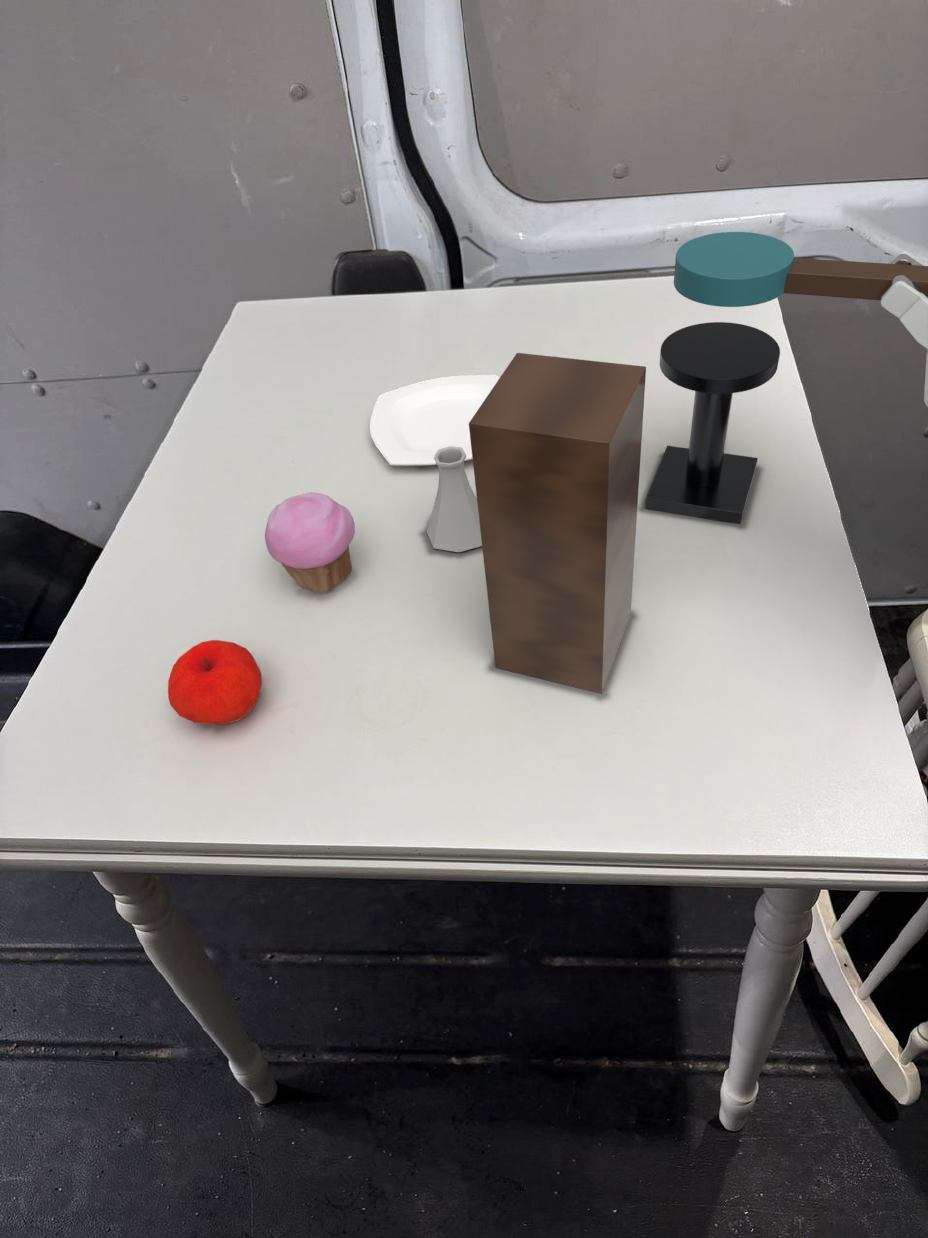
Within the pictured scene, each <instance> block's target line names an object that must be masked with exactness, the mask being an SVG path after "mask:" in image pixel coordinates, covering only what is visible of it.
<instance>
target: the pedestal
mask: <svg viewBox="0 0 928 1238" xmlns="http://www.w3.org/2000/svg"><path fill="white" fill-rule="evenodd" d="M646 376H647V366H646V365H645V366H644V365H635V364H634V365H633V364H625V363H616V362H608V361H598V360H597V361H596V360H589V359H588V360H587V359H579V358H571V357H569V358H568V357H561V356H560V357H559V356H550V355H543V354H533V353H524V352H523V353H522V352H516V353H515V355H514V356H513V358H512V359H511V361H510V362H509V363H508V365H507V367H506V368H505V369H504V371H503V372H502V374H501V375H500V376H499V377H500V378H499V380H498V381H497V383H496V384H495V386H494V387H493V389H492V390H491V392H490V393H489V394H488V396H487V397H486V399H485V400H484V402H483V403H482V405H481V406H480V408H479V409H478V411H477V412H476V413H475V415H474V416H473V418H472V419H471V421H470V422H469V431H470V440H471V449H472V458H473V459H472V466H473V475H474V484H475V486H474V487H475V493H476V495H475V496H476V498H477V504H478V513H479V522H480V531H481V540H482V546H481V549H482V557H483V567H484V575H485V585H486V593H487V603H488V611H489V621H490V629H491V631H490V632H491V638H492V639H491V640H492V648H493V649H492V650H493V657H494V658H493V659H494V667H495V669H498V670H503V671H506V672H511V673H515V674H518V675H519V674H520V675H522V676H528V677H532V678H536V679H539V680H545V681H548V682H553V683H557V684H560V685H565V686H569V687H572V688H578V689H580V690H586V691H590V692H594V693H598V694H603V692H604V689H605V686H606V684H607V682H608V678H609V675H610V674H611V670H612V668H613V664H614V662H615V660H616V656H617V653H618V651H619V648H620V646H621V643H622V640H623V637H624V635H625V633H626V630H627V626H628V624H629V621H630V618H631V616H632V615H631V614H632V598H633V586H634V585H633V583H634V568H635V567H634V566H635V551H636V538H637V537H636V535H637V522H638V521H637V520H638V519H637V518H638V503H639V489H640V472H641V457H642V456H641V455H642V441H643V439H642V437H643V426H644V425H643V424H644V407H645V393H646V379H647V378H646Z"/></svg>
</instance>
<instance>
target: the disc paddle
mask: <svg viewBox="0 0 928 1238" xmlns="http://www.w3.org/2000/svg"><path fill="white" fill-rule="evenodd" d="M673 273H674V275H673V287H674V288H675V291H676V292H677V293H678V294H680V295H681V296H682V297H684V298H686V299H688V300H690V301H692V302H694V303H698V304H701V305H706V306H711V307H719V308H721V307H722V308H743V307H751V306H756V305H761V304H765V303H768V302H770V301H773V300H775V299H777V298H779V297H780V296H782V295H784V294H789V295H801V296H803V295H804V296H814V297H830V298H840V299H841V298H843V299H856V300H867V301H868V300H869V301H870V300H871V301H881V296H882V292H883V290H884V288H885V287H886V286H887V285H889V283H890V282H891V281H892V280H893V279H894V278H895V277H896V276H899V275H903V276H906V277H907V278H908V279H909V280H910V281H913V282H914V283H915V284H917V285H918V286H920V287H921V293H923V294H924V295H925V296H926V297H927V298H928V266H919V265H903V264H888V263H884V262H868V261H850V260H836V259H835V260H833V259H820V258H819V259H818V258H802V257H795V252H794V250H793V248H792V247H791V245H789V244H788V243H787V242H785V241H783V240H781V239H778V238H776V237H774V236H771V235H766V234H762V233H756V232H748V231H724V232H723V231H722V232H715V233H710V234H709V233H708V234H704V235H701V236H698V237H695V238H692V239H690V240H688V241H686V242H685V243H683V244H682V245H681V246H680V247H679V248H678V249H677V251H676V253H675V261H674V271H673Z"/></svg>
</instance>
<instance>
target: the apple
mask: <svg viewBox="0 0 928 1238" xmlns="http://www.w3.org/2000/svg"><path fill="white" fill-rule="evenodd" d="M262 679H263V678H262V671H261V669H260V667H259V666H258V664H257V661H256V660H255V657H254V656H253V654H252V653H251V652H250V650H248V648H246V647H245V646H242V645H240V644H237V643H236V642H234V641H233V642H232V641H226V640H219V639H212V640H207V641H206V640H205V641H202V642H199V643H197V644H196V645H193V646H192V647H190V649H188V650H187V651H185V652H184V653H182V655H180V656H179V657H178V658H177V660H176V662H175V663H174V664H173V665H172V668H171V671H170V673H169V677H168V683H167V699H168V701H169V705H170V706H171V708H172V709H173V711H175V713H176V714H177V715H178V716H179V717H182V718H183V719H186V720H187V721H190V722H192V723H193V724H202V725H203V724H205V725H216V726H217V725H226V724H232V723H234V722H237V721H240V720H242V719H243V718H244V717H246V716H247V715H248V714H249V713H250V712H251V711H252V710H253V708H254V707H255V706H256V704H257V703H258V700H259V698H260V696H261V692H262V691H261V690H262V683H263V681H262Z"/></svg>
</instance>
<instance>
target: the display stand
mask: <svg viewBox="0 0 928 1238" xmlns="http://www.w3.org/2000/svg"><path fill="white" fill-rule="evenodd" d="M780 348H781V347H780V345H779V342H777V340H776V339H775V338H774V337H773V336H771V334H769V333H767V332H765V331H764V330H761V329H760V328H756V327H755V326H750V325H747V324H743V323H736V322H725V321H713V322H712V321H710V322H703V323H697V324H696V323H695V324H691V325H688V326H685V327H683V328H680V329H678V330H675V331H674V332H672V333H670V334H669V335H668V336H666V338H665V339H664V340H663V341H662V343H661V346H660V351H659V369H660V371H661V373H662V374H663V376H664V377H665V378H666V379H667V380H668V381H670V382H671V383H672V384H675V385H677V386H678V387H680V388H683V389H686V390H690V391H693V392H694V400H693V406H692V407H693V408H692V417H691V426H690V436H689V444H688V447H683V446H674V445H666V447H665V449H664V452H663V455H662V457H661V460H660V461H659V463H658V467H657V470H656V472H655V474H654V477H653V479H652V482H651V485H650V487H649V490H648V492H647V495H646V497H645V505H644V506H645V509H646V510H652V511H657V512H662V513H663V512H664V513H670V514H675V515H683V516H688V517H692V518H693V517H694V518H700V519H706V520H712V521H718V522H723V523H730V524H736V525H742V521H743V518H744V514H745V510H746V506H747V503H748V499H749V496H750V493H751V488H752V485H753V481H754V477H755V474H756V470H757V465H758V460H759V457H754V456H748V455H739V454H738V455H737V454H732V453H726V452H725V449H726V443H727V436H728V428H729V421H730V415H731V408H732V401H733V394H736V393H742V392H747V391H750V390H753V389H756V388H758V387H761V386H763V385H764V384H767V383H768V382H770V380H771V379H772V378H773V377H774V375H775V374H776V373H777V371H778V366H779V361H780V355H781V349H780Z"/></svg>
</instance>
